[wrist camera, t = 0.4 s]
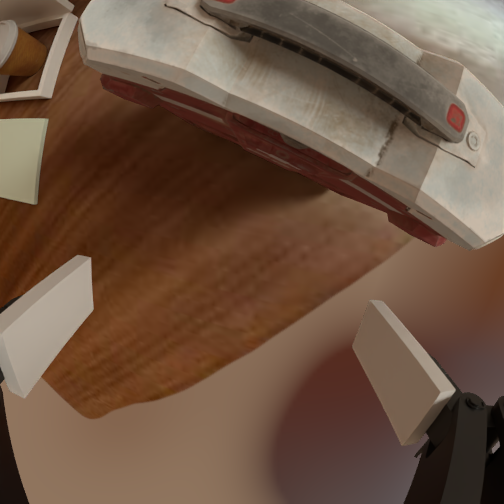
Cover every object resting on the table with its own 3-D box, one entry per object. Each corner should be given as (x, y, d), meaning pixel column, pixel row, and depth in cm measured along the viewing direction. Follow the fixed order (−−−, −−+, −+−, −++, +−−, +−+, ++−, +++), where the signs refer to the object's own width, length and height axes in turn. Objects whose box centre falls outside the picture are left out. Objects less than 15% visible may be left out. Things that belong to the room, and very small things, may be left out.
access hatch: (21, 26, 28) (-37, 2, 11) (82, 11, 29) (22, -31, 12) (-3, 102, 33) (-72, 97, 15) (53, 98, 34) (-26, 82, 16)
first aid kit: (184, 128, 36) (29, 62, 7) (212, 74, 34) (131, -80, 5) (340, 201, 39) (503, 289, 10) (366, 148, 36) (552, 144, 8)
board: (0, 119, 34) (-4, 119, 33) (48, 119, 35) (45, 118, 34) (-9, 193, 38) (-12, 194, 37) (37, 203, 39) (33, 204, 38)
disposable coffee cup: (60, 31, 30) (19, 10, 18) (46, 81, 33) (-1, 68, 21) (24, 42, 30) (-16, 27, 18) (12, 88, 32) (-33, 81, 21)
